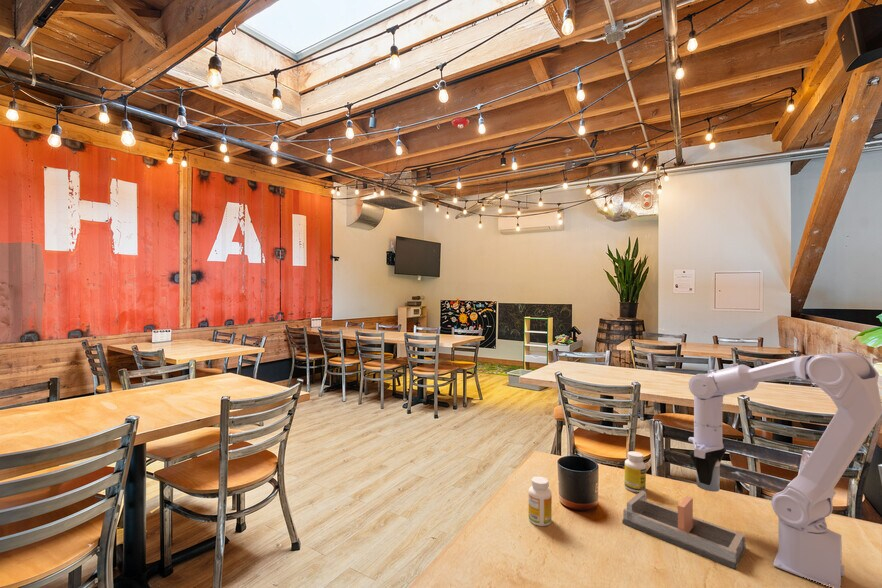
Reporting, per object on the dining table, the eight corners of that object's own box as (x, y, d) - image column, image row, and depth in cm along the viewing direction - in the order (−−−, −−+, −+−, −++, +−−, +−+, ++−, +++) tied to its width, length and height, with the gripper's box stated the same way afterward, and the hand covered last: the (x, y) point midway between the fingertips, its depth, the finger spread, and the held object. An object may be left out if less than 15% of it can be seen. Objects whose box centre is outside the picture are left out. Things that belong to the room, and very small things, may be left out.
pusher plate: (692, 527, 92) (692, 497, 92) (683, 538, 87) (683, 507, 87) (686, 525, 93) (686, 495, 93) (677, 536, 88) (677, 505, 88)
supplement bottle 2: (643, 495, 109) (643, 459, 109) (622, 489, 112) (622, 454, 113) (647, 487, 113) (647, 453, 114) (626, 482, 117) (626, 448, 117)
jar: (722, 487, 96) (722, 460, 96) (717, 493, 93) (717, 465, 93) (699, 480, 100) (699, 454, 100) (693, 486, 96) (693, 459, 97)
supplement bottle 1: (549, 515, 99) (549, 475, 99) (553, 527, 93) (553, 485, 93) (527, 513, 99) (527, 474, 99) (529, 526, 94) (530, 484, 94)
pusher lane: (745, 548, 86) (745, 524, 86) (735, 569, 79) (735, 543, 79) (638, 508, 102) (638, 488, 102) (622, 523, 95) (622, 502, 95)
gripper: (697, 414, 104) (697, 466, 104) (679, 425, 95) (679, 483, 94) (730, 420, 99) (730, 475, 99) (714, 433, 89) (714, 494, 89)
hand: (708, 480), depth 96 cm, fingers closed on jar, 5 cm apart
